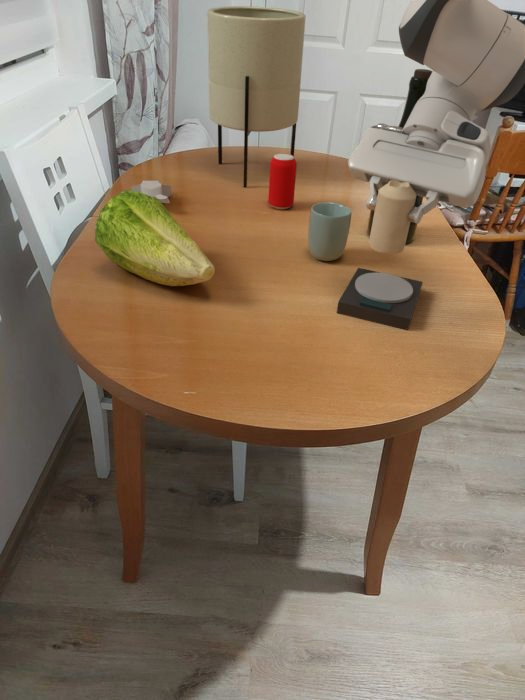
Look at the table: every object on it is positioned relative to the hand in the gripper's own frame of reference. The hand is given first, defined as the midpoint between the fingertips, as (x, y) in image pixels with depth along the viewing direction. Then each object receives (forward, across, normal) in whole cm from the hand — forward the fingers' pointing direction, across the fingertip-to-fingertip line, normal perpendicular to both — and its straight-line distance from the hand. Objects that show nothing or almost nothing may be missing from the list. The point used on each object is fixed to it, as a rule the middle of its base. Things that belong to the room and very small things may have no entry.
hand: (391, 214), depth 77 cm
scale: (+9, -1, +16) cm, 18 cm away
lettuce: (+23, -35, +3) cm, 42 cm away
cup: (+3, -18, +23) cm, 29 cm away
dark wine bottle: (-10, -12, +36) cm, 40 cm away
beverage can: (-9, -41, +35) cm, 54 cm away
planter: (-19, -61, +45) cm, 78 cm away
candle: (+4, 0, +4) cm, 6 cm away
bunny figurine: (+6, -64, +20) cm, 67 cm away
